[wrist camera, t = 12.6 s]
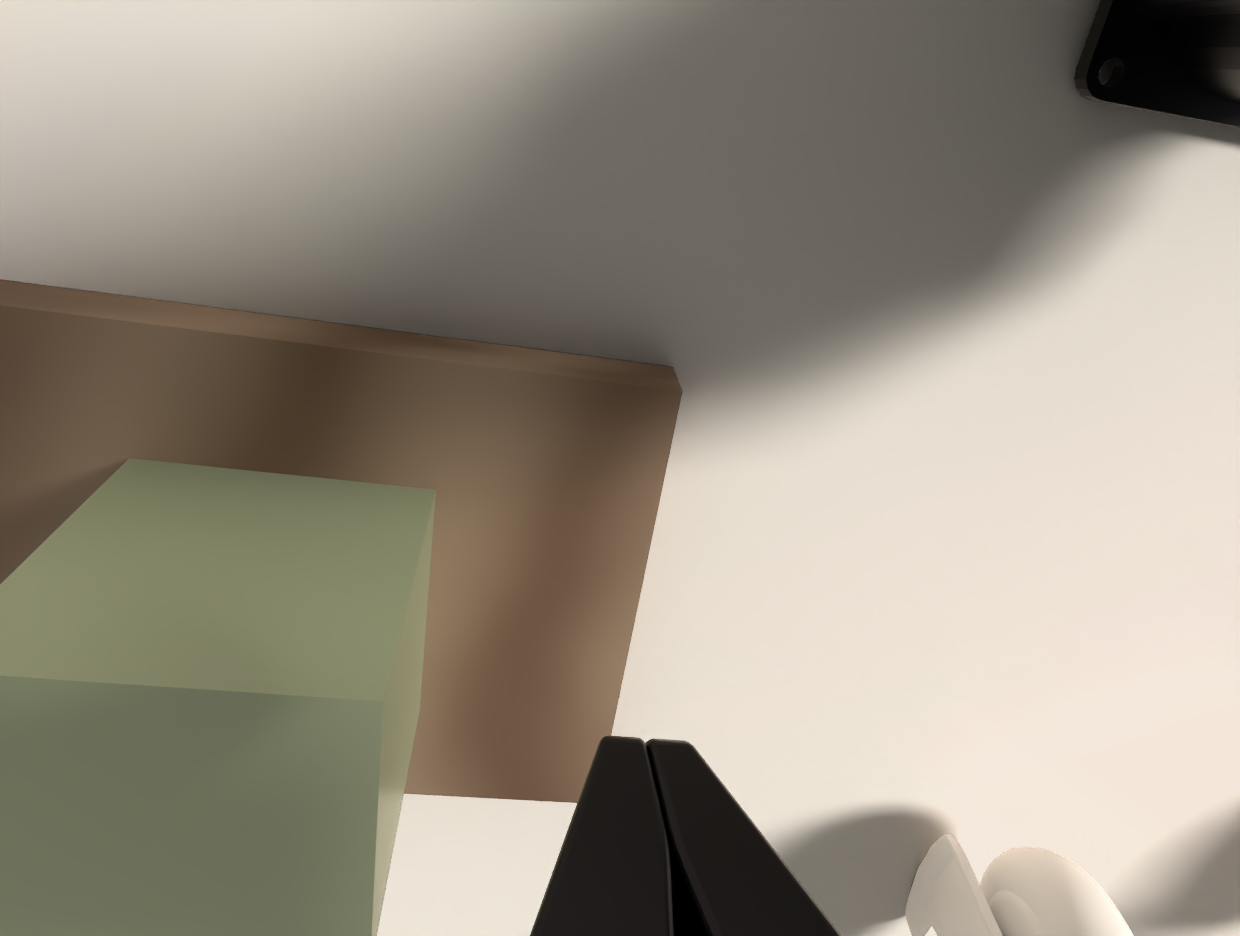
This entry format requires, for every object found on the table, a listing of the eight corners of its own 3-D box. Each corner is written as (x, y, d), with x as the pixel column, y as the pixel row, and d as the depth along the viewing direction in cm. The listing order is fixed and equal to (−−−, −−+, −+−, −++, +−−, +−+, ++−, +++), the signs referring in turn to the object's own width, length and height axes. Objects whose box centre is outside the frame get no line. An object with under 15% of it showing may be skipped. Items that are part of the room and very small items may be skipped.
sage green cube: (435, 489, 18) (382, 701, 12) (419, 709, 21) (369, 971, 15) (129, 458, 17) (-88, 670, 11) (152, 692, 20) (-12, 962, 14)
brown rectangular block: (672, 367, 19) (731, 513, 13) (593, 762, 24) (610, 997, 18) (-116, 264, 17) (-489, 384, 11) (-17, 724, 22) (-230, 980, 16)
